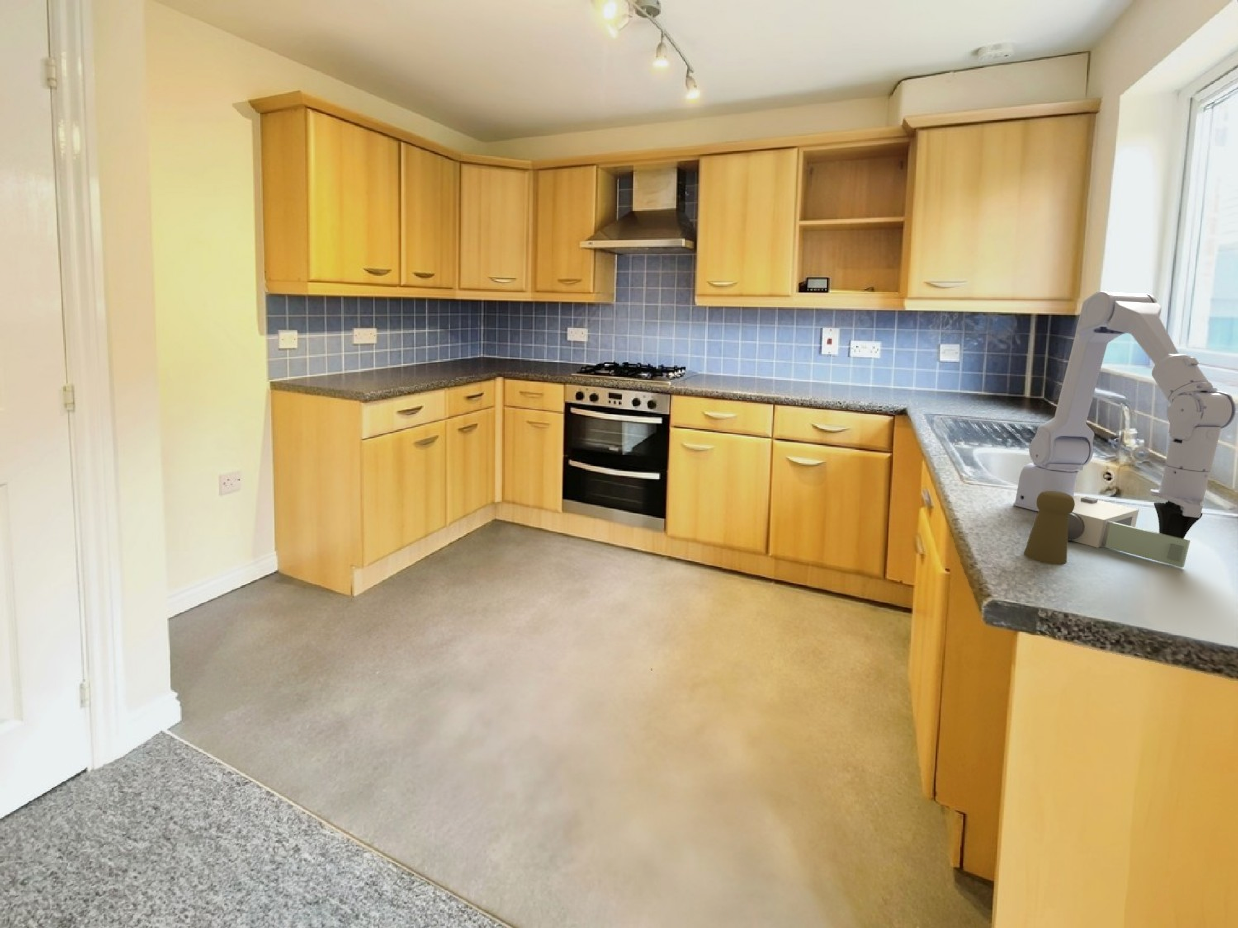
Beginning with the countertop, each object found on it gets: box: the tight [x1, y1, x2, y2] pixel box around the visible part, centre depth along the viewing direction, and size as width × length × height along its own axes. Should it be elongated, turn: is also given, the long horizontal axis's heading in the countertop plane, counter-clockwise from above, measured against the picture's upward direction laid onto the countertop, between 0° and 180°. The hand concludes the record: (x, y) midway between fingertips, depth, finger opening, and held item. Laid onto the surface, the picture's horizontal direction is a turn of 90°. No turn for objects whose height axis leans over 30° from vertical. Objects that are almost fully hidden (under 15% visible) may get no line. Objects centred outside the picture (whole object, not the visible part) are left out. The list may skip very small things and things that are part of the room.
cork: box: [1023, 491, 1075, 565], centre depth 112 cm, size 6×6×11 cm
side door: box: [1102, 521, 1191, 568], centre depth 114 cm, size 1×11×4 cm, turn 35°
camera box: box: [1067, 495, 1140, 548], centre depth 126 cm, size 10×16×6 cm, turn 124°
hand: (1168, 548), depth 114 cm, fingers closed
